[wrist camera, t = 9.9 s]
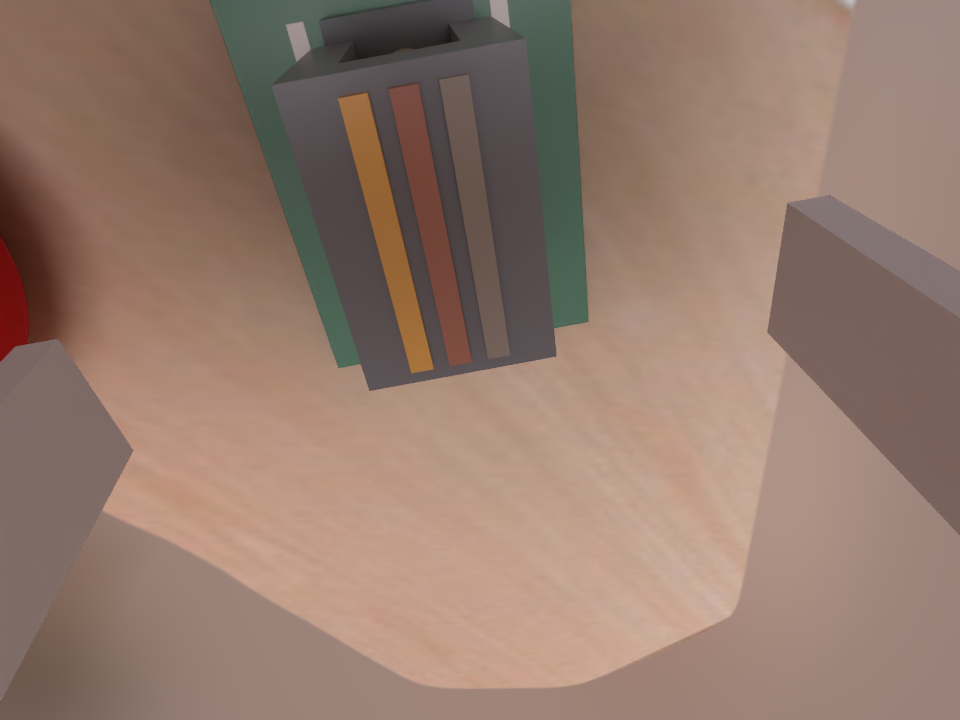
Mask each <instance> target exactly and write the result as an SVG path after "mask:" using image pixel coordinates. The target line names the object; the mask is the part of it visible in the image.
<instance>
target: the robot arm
mask: <svg viewBox="0 0 960 720" xmlns="http://www.w3.org/2000/svg"><path fill="white" fill-rule="evenodd" d="M768 333H769V334H770V335H771V337H772V338H773V339H774V340H775V341H776V342H777V343H778V344H779V345H780V346H781V347H782V348H783V349H784V350H785V351H786V352H787V353H788V354H789V355H790V357H791V358H792V359H793V360H794V361H795V362H796V363H797V364H798V365H799V366H800V367H801V368H802V369H803V370H804V371H805V372H806V373H807V375H808V376H809V377H810V378H811V379H812V380H813V381H814V382H815V383H816V384H817V385H818V386H819V387H820V388H821V389H822V390H823V391H824V392H825V393H826V395H827V396H828V397H829V398H830V399H831V400H832V401H833V402H834V403H835V404H836V405H837V406H838V407H839V408H840V409H841V410H842V411H843V413H844V414H845V415H846V416H847V417H848V418H849V419H850V420H851V421H852V422H853V423H854V424H855V425H856V426H857V427H858V428H859V429H860V430H861V432H863V434H864V435H865V436H866V437H867V438H868V439H869V440H870V441H871V442H872V443H873V444H874V445H875V446H876V447H877V448H878V450H880V452H881V453H882V454H883V455H884V456H885V457H886V458H887V459H888V460H889V461H890V462H891V463H892V464H893V465H894V466H895V467H896V468H897V470H898V471H899V472H900V473H901V474H902V475H903V476H904V477H905V478H906V479H907V480H908V481H909V482H910V483H911V484H912V485H913V486H914V487H915V488H916V490H917V491H918V492H919V493H920V494H921V495H922V496H923V497H924V498H925V499H926V500H927V501H928V502H929V503H930V504H931V505H932V506H933V508H934V509H935V510H936V511H937V512H938V513H939V514H940V515H941V516H942V517H943V518H944V519H945V520H946V521H947V522H948V523H949V524H950V525H951V527H952V528H953V529H954V530H955V531H956V532H957V533H958V534H959V535H960V271H959V270H957V269H956V268H954V267H952V266H950V265H949V264H947V263H945V262H944V261H942V260H940V259H938V258H937V257H935V256H933V255H932V254H930V253H928V252H926V251H925V250H923V249H921V248H920V247H918V246H916V245H914V244H913V243H911V242H909V241H908V240H906V239H904V238H902V237H901V236H899V235H897V234H895V233H894V232H892V231H890V230H888V229H887V228H885V227H884V226H882V225H880V224H878V223H877V222H875V221H873V220H871V219H869V218H868V217H866V216H865V215H863V214H861V213H860V212H858V211H856V210H854V209H853V208H851V207H849V206H847V205H845V204H844V203H842V202H841V201H839V200H837V199H835V198H834V197H832V196H830V195H829V196H823V197H817V198H812V199H807V200H801V201H796V202H791V203H787V209H786V215H785V222H784V228H783V235H782V241H781V248H780V254H779V261H778V267H777V274H776V280H775V286H774V293H773V299H772V306H771V312H770V319H769V325H768ZM132 452H133V449H132V448H131V446H130V445H129V443H128V442H127V440H126V439H125V437H124V436H123V434H122V433H121V431H120V430H119V428H118V427H117V425H116V424H115V422H114V421H113V419H112V418H111V416H110V415H109V413H108V412H107V411H106V409H105V408H104V406H103V405H102V403H101V402H100V400H99V399H98V397H97V396H96V394H95V393H94V391H93V390H92V388H91V387H90V385H89V384H88V382H87V381H86V379H85V378H84V376H83V375H82V373H81V372H80V370H79V369H78V367H77V366H76V364H75V363H74V361H73V360H72V358H71V357H70V356H69V354H68V353H67V351H66V350H65V348H64V347H63V345H62V344H61V342H60V341H59V339H54V340H48V341H43V342H37V343H32V344H27V345H21V346H16V347H15V348H14V349H13V350H12V351H11V352H10V353H9V354H8V355H7V356H6V357H5V358H4V359H3V360H2V361H1V362H0V701H1V699H2V697H3V696H4V694H5V692H6V690H7V688H8V686H9V684H10V682H11V680H12V678H13V677H14V675H15V673H16V671H17V669H18V667H19V665H20V664H21V662H22V660H23V658H24V656H25V654H26V652H27V650H28V648H29V646H30V644H31V643H32V641H33V639H34V637H35V635H36V633H37V631H38V630H39V628H40V626H41V624H42V622H43V620H44V618H45V616H46V614H47V613H48V611H49V609H50V607H51V605H52V603H53V601H54V599H55V597H56V596H57V594H58V592H59V590H60V588H61V586H62V584H63V582H64V580H65V578H66V577H67V575H68V573H69V571H70V569H71V567H72V565H73V563H74V562H75V560H76V558H77V556H78V554H79V552H80V550H81V548H82V546H83V545H84V543H85V541H86V539H87V537H88V535H89V533H90V531H91V529H92V528H93V526H94V524H95V522H96V520H97V518H98V516H99V514H100V513H101V511H102V509H103V507H104V505H105V503H106V501H107V499H108V497H109V496H110V494H111V492H112V490H113V488H114V486H115V484H116V482H117V480H118V479H119V477H120V475H121V473H122V471H123V469H124V467H125V465H126V463H127V462H128V460H129V458H130V456H131V454H132Z"/></svg>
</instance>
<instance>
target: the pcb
mask: <svg viewBox="0 0 960 720" xmlns="http://www.w3.org/2000/svg"><path fill="white" fill-rule="evenodd" d="M210 2H211V5H212V8H213V11H214V14H215V16H216V19H217V22H218V25H219V28H220V31H221V34H222V36H223V39H224V42H225V45H226V48H227V51H228V54H229V56H230V59H231V62H232V65H233V68H234V71H235V74H236V76H237V79H238V82H239V85H240V88H241V91H242V94H243V96H244V99H245V102H246V105H247V108H248V111H249V114H250V116H251V119H252V122H253V125H254V128H255V131H256V134H257V136H258V139H259V142H260V145H261V148H262V151H263V154H264V156H265V159H266V162H267V165H268V168H269V171H270V174H271V176H272V179H273V182H274V185H275V188H276V191H277V194H278V196H279V199H280V202H281V205H282V208H283V211H284V214H285V216H286V219H287V222H288V225H289V228H290V231H291V234H292V236H293V239H294V242H295V245H296V248H297V251H298V254H299V256H300V259H301V262H302V265H303V268H304V271H305V274H306V276H307V279H308V282H309V285H310V288H311V291H312V294H313V296H314V299H315V302H316V305H317V308H318V311H319V314H320V316H321V319H322V322H323V325H324V328H325V331H326V334H327V336H328V339H329V342H330V345H331V348H332V351H333V354H334V356H335V359H336V362H337V365H338V368H340V367H346V366H351V365H357V364H361V363H360V360H359V356H358V353H357V350H356V347H355V344H354V341H353V338H352V335H351V332H350V329H349V325H348V322H347V319H346V316H345V313H344V310H343V307H342V304H341V301H340V298H339V294H338V291H337V288H336V285H335V282H334V279H333V276H332V273H331V270H330V267H329V263H328V260H327V257H326V254H325V251H324V248H323V245H322V242H321V239H320V236H319V233H318V229H317V226H316V223H315V220H314V217H313V214H312V211H311V208H310V205H309V202H308V198H307V195H306V192H305V189H304V186H303V183H302V180H301V177H300V174H299V171H298V167H297V164H296V161H295V158H294V155H293V152H292V149H291V146H290V143H289V140H288V136H287V133H286V130H285V127H284V124H283V121H282V118H281V115H280V112H279V109H278V106H277V102H276V99H275V96H274V93H273V90H272V87H271V85H272V84H273V83H274V82H275V81H276V80H277V79H279V78H280V77H281V76H282V75H283V74H284V73H285V72H286V71H287V70H288V69H289V68H291V67H292V66H293V65H294V64H295V63H296V62H297V61H298V60H299V59H300V58H302V57H303V56H304V55H305V54H306V53H307V52H308V51H309V50H310V49H313V48H319V47H324V46H330V45H335V44H340V43H346V42H351V41H353V44H354V48H355V52H356V56H357V60H359V59H365V58H370V57H376V56H381V55H386V54H392V53H397V52H403V51H408V50H414V49H419V48H424V47H430V46H435V45H441V44H446V43H451V42H452V41H451V35H450V29H449V23H454V22H460V21H465V20H471V19H476V18H481V17H487V16H492V17H493V18H495V19H496V20H498V21H500V22H501V23H503V24H504V25H506V26H507V27H509V28H511V29H512V30H514V31H515V32H517V33H518V34H520V35H521V36H523V37H525V38H526V45H527V55H528V65H529V76H530V86H531V97H532V107H533V117H534V128H535V138H536V149H537V159H538V169H539V180H540V190H541V201H542V211H543V221H544V232H545V242H546V253H547V263H548V273H549V284H550V294H551V305H552V315H553V325H554V328H557V327H563V326H568V325H573V324H579V323H584V322H589V321H588V303H587V286H586V268H585V251H584V233H583V216H582V198H581V181H580V163H579V145H578V128H577V110H576V93H575V75H574V58H573V40H572V23H571V5H570V0H210Z"/></svg>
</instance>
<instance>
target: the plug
mask: <svg viewBox="0 0 960 720" xmlns="http://www.w3.org/2000/svg"><path fill="white" fill-rule="evenodd" d="M449 29H450V35H451V41H452V42H451V43H446V44H441V45H435V46H430V47H424V48H419V49H414V50H408V51H403V52H397V53H392V54H386V55H381V56H376V57H370V58H365V59H359V60H357V56H356V52H355V48H354V44H353V41H351V42H346V43H340V44H335V45H330V46H324V47H319V48H313V49H310V50H309V51H308V52H307V53H306V54H305V55H304V56H303V57H302V58H300V59H299V60H298V61H297V62H296V63H295V64H294V65H293V66H292V67H291V68H289V69H288V70H287V71H286V72H285V73H284V74H283V75H282V76H281V77H280V78H279V79H277V80H276V81H275V82H274V83H273V84H272V85H271V87H272V90H273V93H274V96H275V99H276V102H277V106H278V109H279V112H280V115H281V118H282V121H283V124H284V127H285V130H286V133H287V136H288V140H289V143H290V146H291V149H292V152H293V155H294V158H295V161H296V164H297V167H298V171H299V174H300V177H301V180H302V183H303V186H304V189H305V192H306V195H307V198H308V202H309V205H310V208H311V211H312V214H313V217H314V220H315V223H316V226H317V229H318V233H319V236H320V239H321V242H322V245H323V248H324V251H325V254H326V257H327V260H328V263H329V267H330V270H331V273H332V276H333V279H334V282H335V285H336V288H337V291H338V294H339V298H340V301H341V304H342V307H343V310H344V313H345V316H346V319H347V322H348V325H349V329H350V332H351V335H352V338H353V341H354V344H355V347H356V350H357V353H358V356H359V360H360V363H361V366H362V369H363V372H364V375H365V378H366V381H367V384H368V387H369V390H370V391H371V390H377V389H382V388H388V387H393V386H399V385H404V384H409V383H415V382H420V381H426V380H431V379H436V378H442V377H447V376H453V375H458V374H464V373H469V372H474V371H480V370H485V369H491V368H496V367H501V366H507V365H512V364H518V363H523V362H528V361H534V360H539V359H545V358H550V357H556V346H555V336H554V325H553V315H552V305H551V294H550V284H549V273H548V263H547V253H546V242H545V232H544V221H543V211H542V201H541V190H540V180H539V169H538V159H537V149H536V138H535V128H534V117H533V107H532V97H531V86H530V76H529V65H528V55H527V45H526V38H525V37H523V36H521V35H520V34H518V33H517V32H515V31H514V30H512V29H511V28H509V27H507V26H506V25H504V24H503V23H501V22H500V21H498V20H496V19H495V18H493V17H492V16H487V17H481V18H476V19H471V20H465V21H460V22H454V23H449Z"/></svg>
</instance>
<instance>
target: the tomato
mask: <svg viewBox="0 0 960 720" xmlns="http://www.w3.org/2000/svg"><path fill="white" fill-rule="evenodd" d="M28 336H29V318H28V305H27V299H26V295H25V292H24V288H23V284H22V281H21V277H20V274H19V272H18V269H17V267H16V265H15V263H14V261H13V259H12V257H11V255H10V253H9V251H8V249H7V247H6V245H5V243H4V241H3V239H2V238H1V237H0V362H1V361H2V360H3V359H4V358H5V357H6V356H7V355H8V354H9V353H10V352H11V351H12V350H13V349H14V348H15V347H16V346H21V345H27V344H28Z"/></svg>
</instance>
